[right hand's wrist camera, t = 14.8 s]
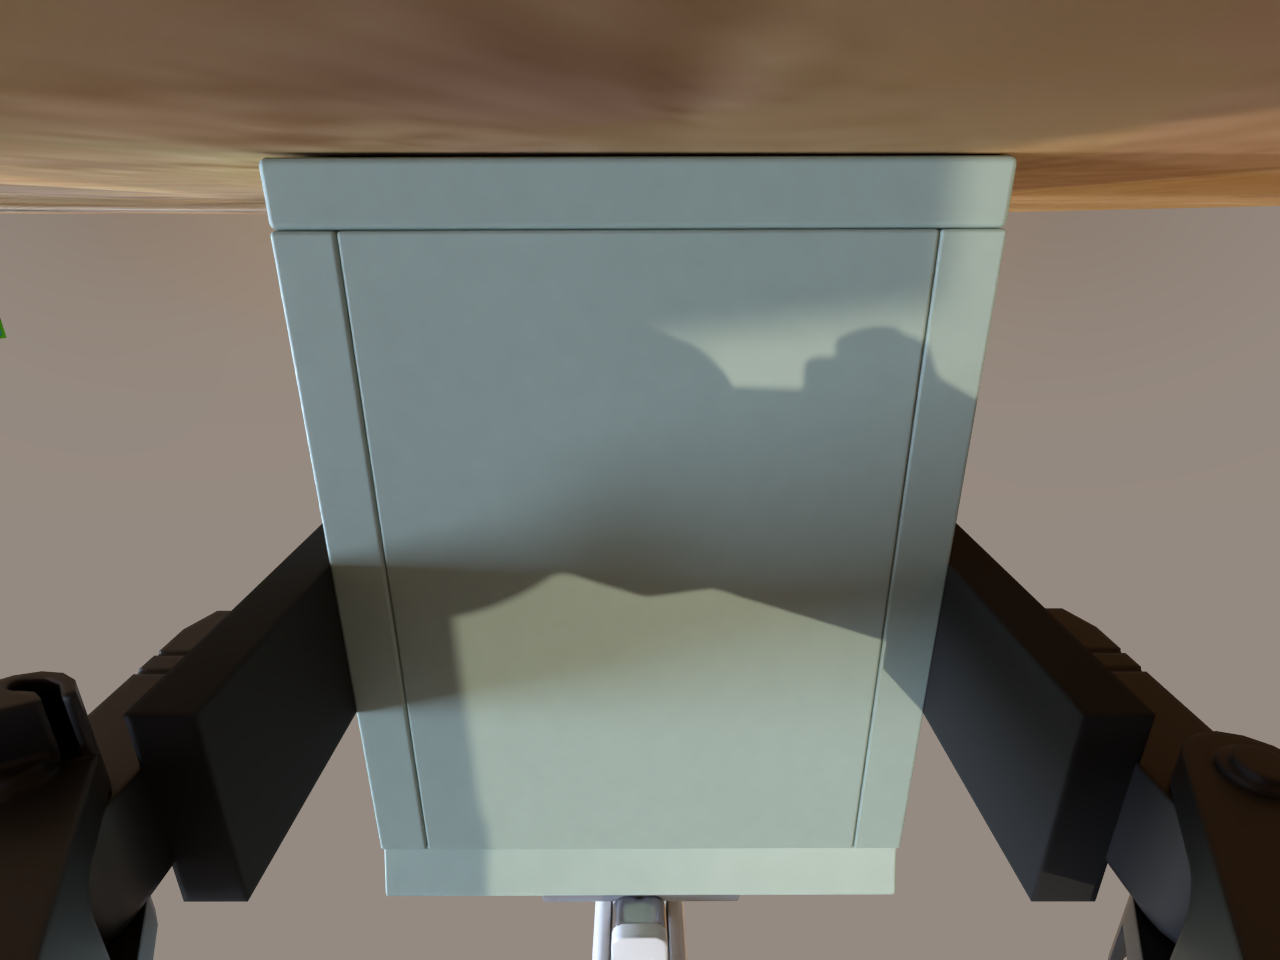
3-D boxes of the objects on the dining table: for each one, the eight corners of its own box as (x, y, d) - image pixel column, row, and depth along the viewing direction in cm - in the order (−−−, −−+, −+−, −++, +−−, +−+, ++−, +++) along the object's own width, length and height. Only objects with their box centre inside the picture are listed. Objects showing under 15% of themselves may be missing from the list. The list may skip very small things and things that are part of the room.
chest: (791, 194, 21) (768, 532, 25) (485, 195, 21) (511, 533, 25) (1021, 154, 8) (900, 849, 12) (253, 157, 8) (380, 851, 12)
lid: (760, 625, 26) (758, 839, 27) (518, 626, 26) (522, 840, 27) (897, 846, 12) (886, 1279, 13) (383, 848, 12) (397, 1281, 13)
